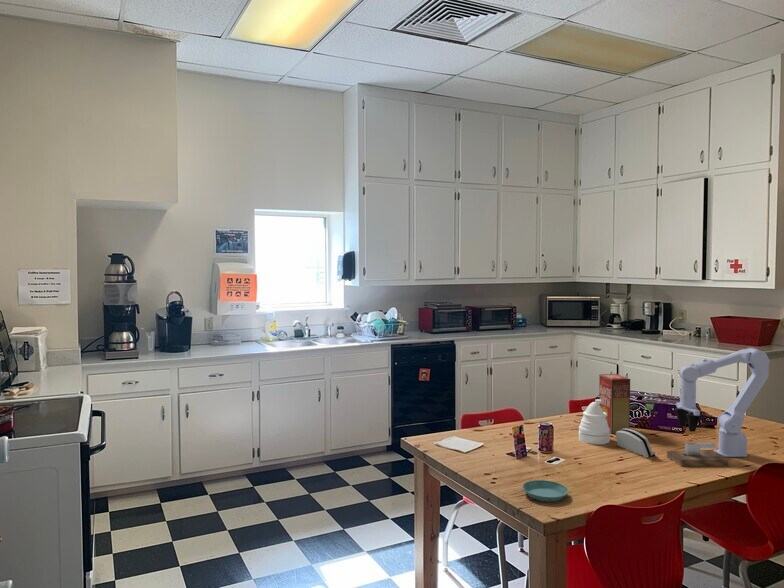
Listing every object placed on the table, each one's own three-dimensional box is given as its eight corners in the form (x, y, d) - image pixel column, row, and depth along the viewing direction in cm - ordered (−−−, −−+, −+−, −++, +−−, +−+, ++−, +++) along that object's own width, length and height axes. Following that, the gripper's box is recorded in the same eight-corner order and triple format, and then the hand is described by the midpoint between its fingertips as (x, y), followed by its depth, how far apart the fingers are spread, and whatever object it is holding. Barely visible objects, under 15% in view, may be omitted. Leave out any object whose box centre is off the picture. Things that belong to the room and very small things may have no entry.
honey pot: (615, 441, 254) (616, 400, 253) (597, 446, 247) (597, 404, 246) (590, 433, 265) (591, 394, 264) (572, 438, 258) (572, 398, 257)
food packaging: (597, 426, 277) (598, 373, 276) (616, 425, 278) (617, 373, 277) (611, 434, 264) (612, 379, 263) (631, 433, 265) (632, 378, 264)
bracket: (712, 460, 229) (712, 442, 229) (715, 461, 227) (715, 444, 227) (684, 460, 229) (685, 442, 228) (687, 462, 227) (687, 444, 226)
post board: (711, 456, 234) (711, 450, 233) (728, 465, 223) (728, 459, 222) (666, 456, 233) (667, 450, 233) (681, 466, 222) (681, 459, 222)
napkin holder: (656, 456, 234) (650, 434, 232) (647, 461, 232) (641, 439, 231) (627, 444, 249) (621, 423, 248) (618, 449, 248) (612, 428, 246)
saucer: (542, 508, 185) (542, 499, 185) (513, 491, 198) (513, 484, 198) (577, 499, 192) (577, 492, 191) (547, 484, 205) (547, 477, 205)
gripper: (669, 391, 246) (668, 423, 246) (687, 399, 231) (687, 433, 232) (686, 391, 246) (685, 423, 247) (705, 399, 231) (704, 433, 232)
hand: (687, 428), depth 239 cm, fingers open, 7 cm apart
